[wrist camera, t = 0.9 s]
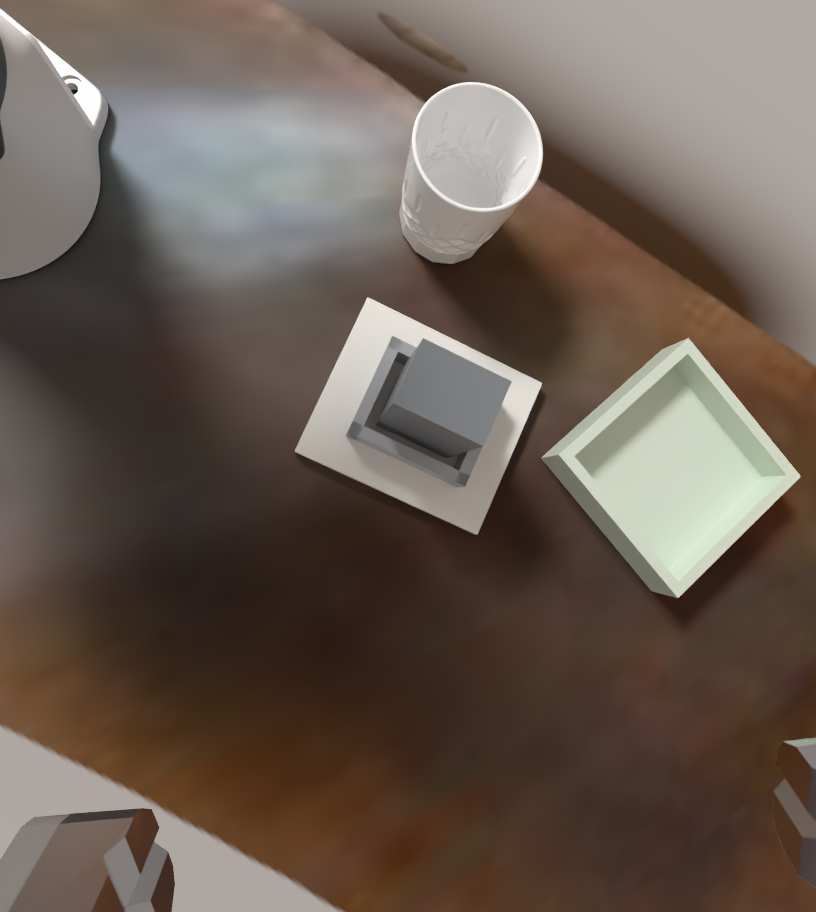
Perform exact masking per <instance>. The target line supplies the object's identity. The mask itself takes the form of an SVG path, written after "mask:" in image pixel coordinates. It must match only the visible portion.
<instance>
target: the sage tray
mask: <svg viewBox="0 0 816 912" xmlns="http://www.w3.org/2000/svg"><path fill="white" fill-rule="evenodd" d="M541 459H542V460H543V461H544V463H545V464H546V465H547V466H548V467H549V469H550V470H551V471H552V472H553V473H554V475H555V476H556V477H557V478H558V479H559V481H560V482H561V483H562V484H563V485H564V487H565V488H566V489H567V490H568V491H569V493H570V494H571V495H572V496H573V497H574V499H575V500H576V501H577V502H578V503H579V505H580V506H581V507H582V508H583V509H584V511H585V512H586V513H587V514H588V516H589V517H590V518H591V519H592V520H593V522H594V523H595V524H596V525H597V526H598V528H599V529H600V530H601V531H602V532H603V534H604V535H605V536H606V537H607V538H608V540H609V541H610V542H611V543H612V544H613V546H614V547H615V548H616V549H617V550H618V552H619V553H620V554H621V555H622V556H623V558H624V559H625V560H626V561H627V562H628V564H629V565H630V566H631V567H632V568H633V570H634V571H635V572H636V573H637V574H638V576H639V577H640V578H641V579H642V580H643V582H644V583H645V584H646V585H647V586H648V588H649V589H650V590H651V591H653V592H657V593H660V594H664V595H668V596H672V597H675V598H679V597H680V596H681V595H682V594H683V593H684V592H685V591H686V590H687V589H688V588H689V587H690V586H691V585H692V584H693V583H694V582H695V581H696V580H697V579H698V578H699V577H700V576H701V575H702V574H703V573H704V572H705V571H706V570H707V569H708V568H709V567H710V566H711V565H712V564H713V563H714V562H715V561H716V560H717V559H718V558H719V557H720V556H721V555H722V554H723V553H724V552H725V551H726V550H727V549H728V548H729V547H730V546H731V545H732V544H733V543H734V542H735V541H736V540H737V539H738V538H739V537H740V536H741V535H742V534H743V533H744V532H745V531H746V530H747V529H748V528H749V527H750V526H751V525H752V524H753V523H754V522H755V521H756V520H757V519H759V518H760V517H761V516H762V515H763V514H764V513H765V512H766V511H767V510H768V509H769V508H770V507H771V506H772V505H773V504H774V503H775V502H776V501H777V500H778V499H779V498H780V497H781V496H782V495H783V494H784V493H785V492H786V491H787V490H788V489H789V488H790V487H791V486H792V485H793V484H794V483H795V482H796V481H797V480H798V479H799V478H800V477H801V476H800V475H799V474H798V472H797V471H796V470H795V469H794V467H793V466H792V465H791V464H790V463H789V461H788V460H787V459H786V458H785V456H784V455H783V454H782V453H781V451H780V450H779V449H778V448H777V447H776V445H775V444H774V443H773V442H772V440H771V439H770V438H769V437H768V435H767V434H766V433H765V432H764V431H763V429H762V428H761V427H760V426H759V424H758V423H757V422H756V421H755V419H754V418H753V417H752V416H751V414H750V413H749V412H748V411H747V410H746V408H745V407H744V406H743V405H742V403H741V402H740V401H739V400H738V398H737V397H736V396H735V395H734V394H733V392H732V391H731V390H730V389H729V387H728V386H727V385H726V384H725V382H724V381H723V380H722V379H721V378H720V376H719V375H718V374H717V373H716V371H715V370H714V369H713V368H712V366H711V365H710V364H709V363H708V362H707V360H706V359H705V358H704V357H703V355H702V354H701V353H700V352H699V350H698V349H697V348H696V347H695V345H694V344H693V343H692V342H691V341H690V339H689V338H687V339H685V340H683V341H680V342H678V343H676V344H673V345H671V346H669V347H667V348H664V349H662V350H661V351H660V352H659V353H657V354H656V355H655V356H654V357H653V358H652V359H651V360H650V361H649V362H647V363H646V364H645V365H644V366H643V367H642V368H641V369H640V370H638V371H637V372H636V373H635V374H634V375H633V376H632V377H631V378H630V379H628V380H627V381H626V382H625V383H624V384H623V385H622V386H621V387H619V388H618V389H617V390H616V391H615V392H614V393H613V394H612V395H611V396H609V397H608V398H607V399H606V400H605V401H604V402H603V403H602V404H601V405H599V406H598V407H597V408H596V409H595V410H594V411H593V412H592V413H590V414H589V415H588V416H587V417H586V418H585V419H584V420H583V421H582V422H580V423H579V424H578V425H577V426H576V427H575V428H574V429H573V430H571V431H570V432H569V433H568V434H567V435H566V436H565V437H564V438H563V439H561V440H560V441H559V442H558V443H557V444H556V445H555V446H554V447H553V448H551V449H550V450H549V451H548V452H547V453H546V454H545V455H544V456H542V457H541Z"/></svg>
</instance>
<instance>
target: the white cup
mask: <svg viewBox="0 0 816 912" xmlns="http://www.w3.org/2000/svg"><path fill="white" fill-rule="evenodd" d="M542 160H543V147H542V140H541V136H540V132H539V130H538V127H537V125H536V123H535V121H534V119H533V117H532V116H531V114H530V113H529V111H528V110H527V109H526V108H525V107H524V106H523V104H522V103H520V102H519V101H518V100H517V99H516V98H515V97H513V96H512V95H510V94H509V93H507V92H506V91H503V90H502V89H499V88H497V87H495V86H492V85H488V84H483V83H476V82H467V83H460V84H455V85H452V86H449V87H447V88H444V89H443V90H441V91H439V92H438V93H436V94H435V95H434V96H432V97H431V98H430V99H429V100H428V101H427V102H426V103H425V105H424V106H423V107H422V109H421V110H420V112H419V114H418V116H417V118H416V121H415V124H414V128H413V133H412V139H411V144H410V149H409V154H408V159H407V164H406V169H405V176H404V183H403V189H402V203H401V208H400V213H399V215H400V221H401V227H402V233H403V235H404V237H405V238H406V240H407V241H408V242H409V244H410V245H411V247H412V248H413V250H414V251H415V252H417V253H418V254H420V255H422V256H423V257H425V258H427V259H428V260H430V261H432V262H437V263H446V264H454V263H457V262H460V261H463V260H465V259H468V258H471V257H472V256H473V255H474V254H475V253H476V252H477V251H478V249H479V248H480V247H481V246H482V245H483V244H484V243H485V242H486V241H488V240H489V239H490V238H491V237H492V236H493V234H494V233H495V232H496V231H497V230H498V229H499V228H500V227H501V225H502V224H503V223H504V222H505V221H506V220H507V219H508V217H509V216H510V215H511V214H512V212H513V211H514V210H515V209H516V207H517V206H518V205H519V204H520V202H521V201H522V200H523V199H524V197H525V196H526V195H527V194H528V193H529V191H530V190H531V189H532V187H533V186H534V184H535V183H536V181H537V179H538V176H539V173H540V170H541V166H542Z"/></svg>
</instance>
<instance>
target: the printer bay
mask: <svg viewBox="0 0 816 912" xmlns="http://www.w3.org/2000/svg"><path fill="white" fill-rule="evenodd" d="M423 338H424V339H426V340H428V341H430V342H432V343H434V344H436V345H438V346H440V347H443V348H445V349H447V350H449V351H451V352H453V353H455V354H457V355H459V356H461V357H463V358H465V359H467V360H469V361H471V362H473V363H475V364H477V365H479V366H481V367H483V368H485V369H487V370H490V371H492V372H494V373H496V374H498V375H500V376H502V377H504V378H506V379H508V380H510V381H512V382H511V384H510V387H509V389H508V391H507V393H506V396H505V398H504V400H503V403H502V405H501V407H500V410H499V412H498V414H497V416H496V419H495V421H494V423H493V426H492V428H491V430H490V433H489V435H488V437H487V439H486V442H485V444H484V446H483V447H480V448H476V449H473V450H470V451H467V452H464V453H461V454H458V455H455V456H451V457H448V458H445V457H442V456H440V455H438V454H436V453H434V452H432V451H430V450H428V449H425V448H423V447H421V446H419V445H417V444H415V443H413V442H411V441H408V440H406V439H404V438H402V437H400V436H398V435H396V434H393V433H391V432H389V431H387V430H385V429H383V428H381V427H379V426H376V422H377V420H378V418H379V416H380V414H381V412H382V409H383V407H384V405H385V403H386V401H387V399H388V396H389V394H390V392H391V390H392V388H393V386H394V383H395V381H396V379H397V377H398V375H399V373H400V371H401V370H402V369H403V367H404V366H405V364H406V363H407V361H408V360H409V358H410V357H411V355H412V354H413V352H414V351H415V349H416V348H417V346H418V345H419V343H420V342H421V340H422V339H423ZM541 385H542V383H541V382H539V381H537V380H535V379H533V378H531V377H529V376H527V375H525V374H523V373H521V372H519V371H517V370H515V369H513V368H510V367H508V366H506V365H504V364H502V363H500V362H498V361H496V360H494V359H492V358H490V357H488V356H486V355H484V354H482V353H480V352H478V351H476V350H474V349H472V348H470V347H468V346H466V345H464V344H462V343H460V342H458V341H456V340H454V339H452V338H449V337H447V336H445V335H443V334H441V333H439V332H437V331H435V330H433V329H431V328H429V327H427V326H425V325H423V324H421V323H419V322H417V321H415V320H413V319H411V318H409V317H407V316H405V315H403V314H401V313H399V312H397V311H395V310H393V309H391V308H388V307H386V306H384V305H382V304H380V303H378V302H376V301H374V300H372V299H370V298H367V300H366V302H365V304H364V306H363V308H362V310H361V312H360V314H359V317H358V319H357V321H356V323H355V325H354V327H353V329H352V331H351V333H350V335H349V338H348V340H347V342H346V344H345V346H344V348H343V350H342V352H341V354H340V356H339V359H338V361H337V363H336V365H335V367H334V369H333V371H332V373H331V375H330V377H329V380H328V382H327V384H326V386H325V388H324V390H323V392H322V394H321V396H320V399H319V401H318V403H317V405H316V407H315V409H314V411H313V413H312V415H311V417H310V420H309V422H308V424H307V426H306V428H305V430H304V432H303V434H302V436H301V438H300V441H299V443H298V445H297V447H296V449H295V453H297V454H300V455H302V456H304V457H306V458H308V459H311V460H313V461H315V462H317V463H319V464H321V465H324V466H326V467H328V468H330V469H332V470H335V471H337V472H339V473H341V474H343V475H346V476H348V477H350V478H352V479H354V480H356V481H359V482H361V483H363V484H365V485H367V486H370V487H372V488H374V489H376V490H378V491H380V492H383V493H385V494H387V495H389V496H391V497H394V498H396V499H398V500H400V501H402V502H405V503H407V504H409V505H411V506H413V507H415V508H418V509H420V510H422V511H424V512H426V513H429V514H431V515H433V516H435V517H437V518H439V519H442V520H444V521H446V522H448V523H450V524H453V525H455V526H457V527H459V528H461V529H464V530H466V531H468V532H470V533H472V534H475V535H478V532H479V530H480V528H481V525H482V523H483V521H484V518H485V516H486V514H487V511H488V509H489V507H490V504H491V502H492V500H493V497H494V495H495V493H496V490H497V488H498V486H499V483H500V481H501V479H502V476H503V474H504V472H505V469H506V467H507V465H508V462H509V460H510V458H511V455H512V453H513V451H514V448H515V446H516V444H517V441H518V439H519V437H520V434H521V432H522V430H523V427H524V425H525V423H526V420H527V418H528V416H529V413H530V411H531V409H532V406H533V404H534V402H535V399H536V397H537V395H538V392H539V390H540V388H541Z"/></svg>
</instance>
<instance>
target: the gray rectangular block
mask: <svg viewBox="0 0 816 912" xmlns="http://www.w3.org/2000/svg"><path fill="white" fill-rule="evenodd" d="M511 382H512V381H510V380H508V379H506V378H504V377H502V376H500V375H498V374H496V373H494V372H492V371H490V370H487V369H485V368H483V367H481V366H479V365H477V364H475V363H473V362H471V361H469V360H467V359H465V358H463V357H461V356H459V355H457V354H455V353H453V352H451V351H449V350H447V349H445V348H443V347H440V346H438V345H436V344H434V343H432V342H430V341H428V340H426V339H424V338H423V339H422V340H421V342H420V343H419V345H418V346H417V348H416V349H415V351H414V352H413V354H412V355H411V357H410V358H409V360H408V361H407V363H406V364H405V366H404V367H403V369H402V370H401V371H400V373H399V375H398V377H397V379H396V381H395V383H394V386H393V388H392V390H391V392H390V394H389V396H388V399H387V401H386V403H385V405H384V407H383V409H382V412H381V414H380V416H379V418H378V420H377V422H376V426H379V427H381V428H383V429H385V430H387V431H389V432H391V433H393V434H396V435H398V436H400V437H402V438H404V439H406V440H408V441H411V442H413V443H415V444H417V445H419V446H421V447H423V448H425V449H428V450H430V451H432V452H434V453H436V454H438V455H440V456H442V457H445V458H448V457H451V456H455V455H458V454H461V453H464V452H467V451H470V450H473V449H476V448H480V447H483V446H484V444H485V442H486V439H487V437H488V435H489V433H490V430H491V428H492V426H493V423H494V421H495V419H496V416H497V414H498V412H499V410H500V407H501V405H502V403H503V400H504V398H505V396H506V393H507V391H508V389H509V387H510V384H511Z"/></svg>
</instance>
